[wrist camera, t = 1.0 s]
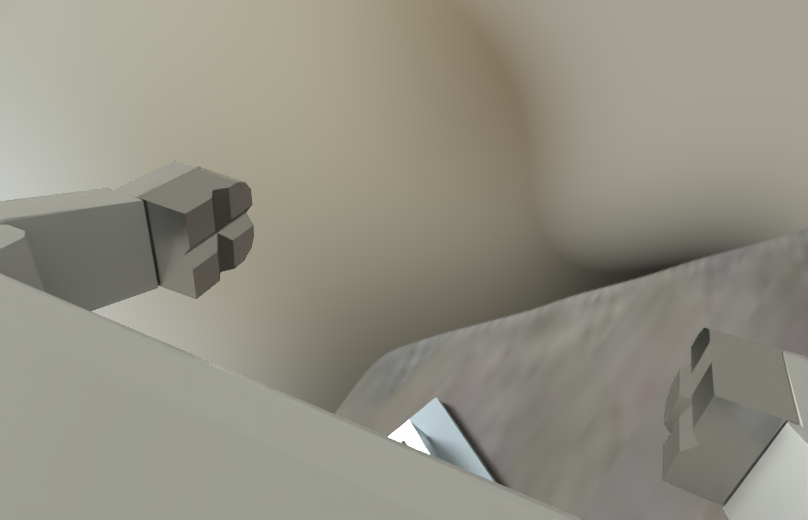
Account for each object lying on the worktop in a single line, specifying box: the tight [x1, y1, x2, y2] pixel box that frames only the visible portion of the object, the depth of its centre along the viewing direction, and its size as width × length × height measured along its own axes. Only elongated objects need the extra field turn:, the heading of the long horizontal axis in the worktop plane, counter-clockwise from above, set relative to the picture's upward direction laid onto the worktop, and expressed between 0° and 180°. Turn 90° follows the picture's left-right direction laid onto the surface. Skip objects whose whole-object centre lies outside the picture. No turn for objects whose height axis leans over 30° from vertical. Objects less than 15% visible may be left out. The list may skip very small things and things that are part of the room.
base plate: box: [388, 397, 497, 483], centre depth 40 cm, size 12×12×1 cm
